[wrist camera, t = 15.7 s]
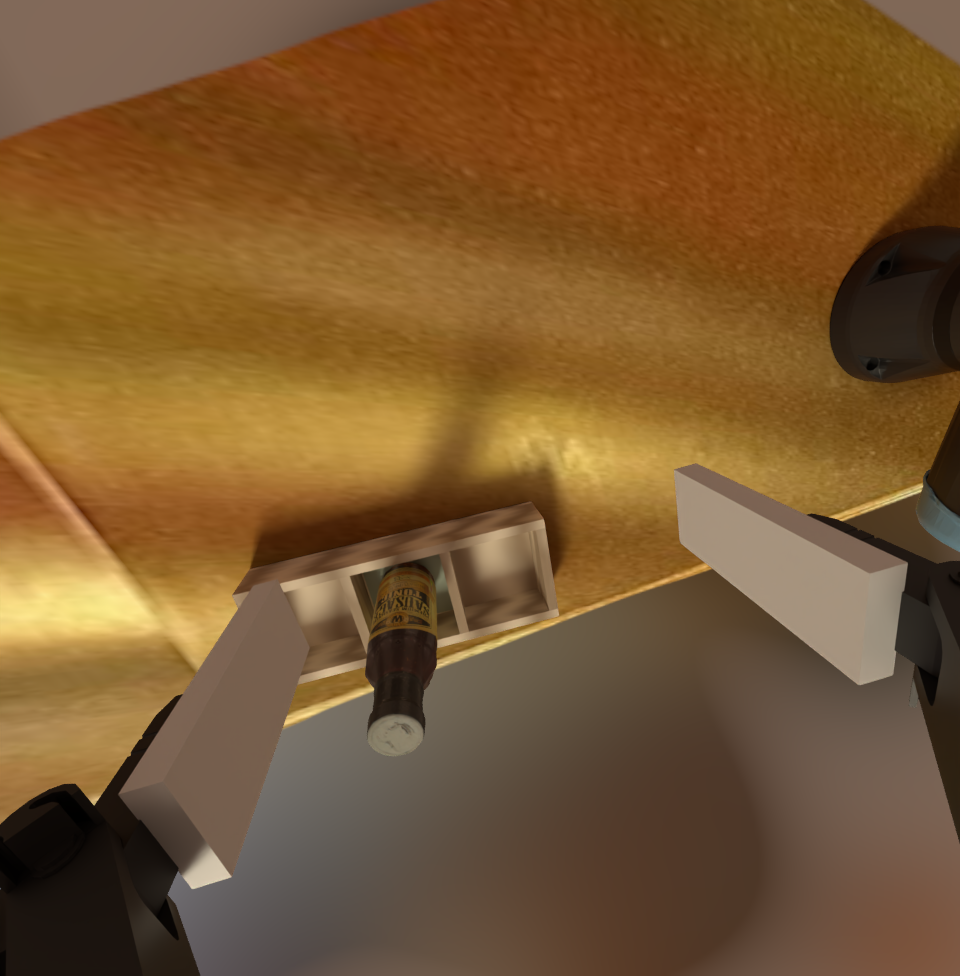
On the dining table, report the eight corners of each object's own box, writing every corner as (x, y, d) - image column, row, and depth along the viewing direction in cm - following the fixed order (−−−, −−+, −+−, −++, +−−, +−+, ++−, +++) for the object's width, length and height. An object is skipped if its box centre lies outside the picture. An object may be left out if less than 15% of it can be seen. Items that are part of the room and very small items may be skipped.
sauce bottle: (431, 555, 49) (444, 692, 30) (438, 602, 51) (453, 758, 32) (371, 563, 48) (347, 709, 29) (380, 611, 50) (362, 775, 32)
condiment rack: (531, 501, 49) (543, 519, 44) (546, 591, 53) (559, 616, 48) (249, 569, 47) (232, 595, 42) (288, 657, 51) (276, 690, 46)
